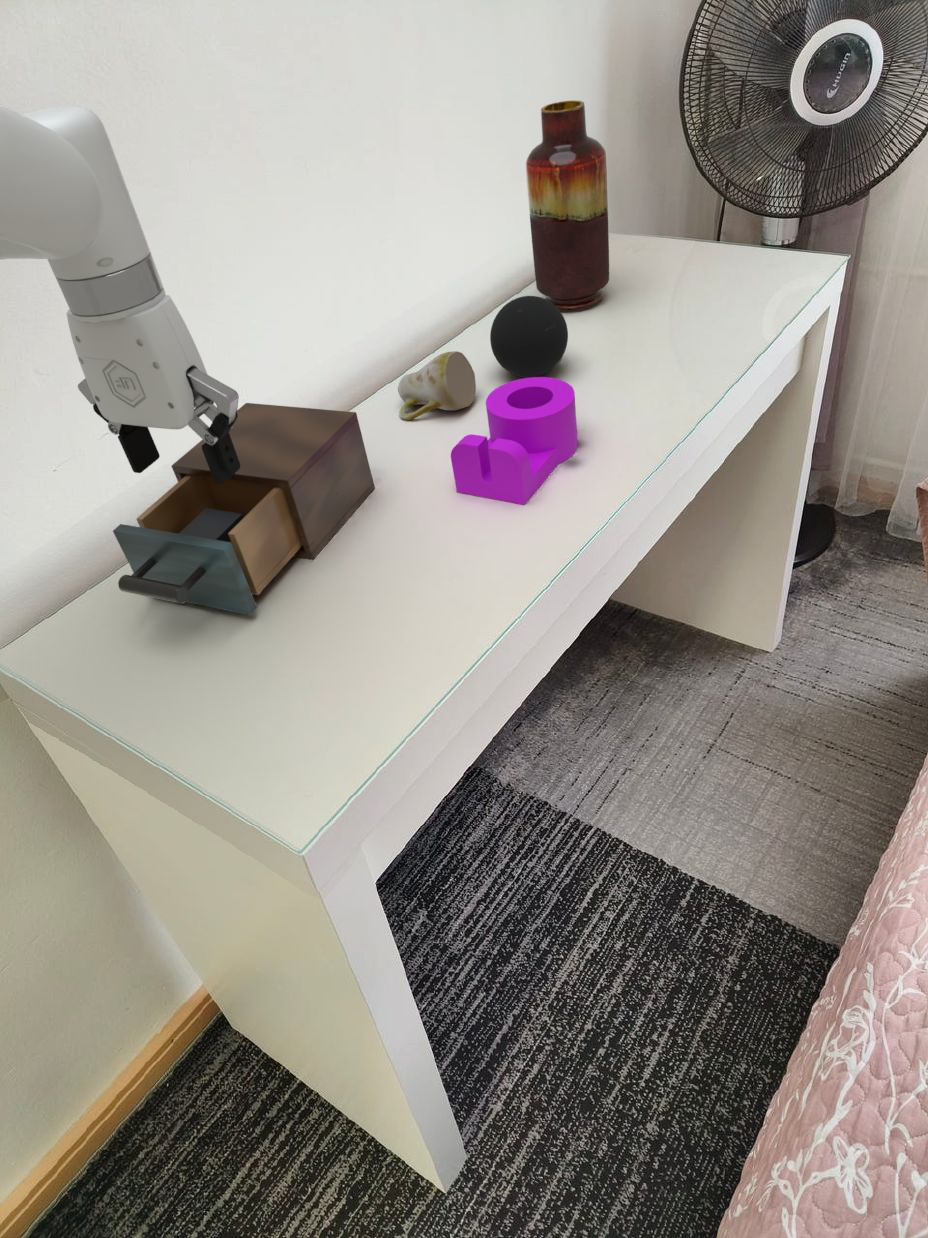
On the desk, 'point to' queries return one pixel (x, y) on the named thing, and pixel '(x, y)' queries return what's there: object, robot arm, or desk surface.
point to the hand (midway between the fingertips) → (187, 470)
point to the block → (213, 525)
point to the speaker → (529, 336)
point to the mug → (438, 385)
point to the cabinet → (299, 464)
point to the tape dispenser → (518, 440)
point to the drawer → (210, 544)
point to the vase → (568, 210)
